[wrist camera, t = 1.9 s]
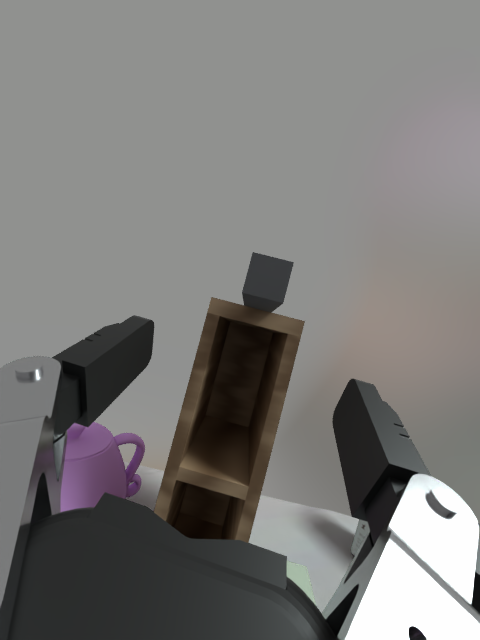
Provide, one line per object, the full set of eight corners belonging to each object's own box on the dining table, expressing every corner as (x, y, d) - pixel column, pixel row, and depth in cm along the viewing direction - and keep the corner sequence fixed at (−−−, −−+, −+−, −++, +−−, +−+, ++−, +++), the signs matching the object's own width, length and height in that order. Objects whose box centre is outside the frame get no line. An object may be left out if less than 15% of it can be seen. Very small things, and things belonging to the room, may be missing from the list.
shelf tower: (228, 533, 37) (282, 325, 38) (215, 670, 22) (304, 321, 23) (171, 515, 37) (225, 310, 38) (119, 639, 22) (211, 297, 24)
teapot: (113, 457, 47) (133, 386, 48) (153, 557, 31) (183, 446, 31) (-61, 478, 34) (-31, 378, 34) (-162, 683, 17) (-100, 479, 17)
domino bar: (261, 320, 39) (266, 303, 39) (283, 303, 15) (294, 260, 15) (245, 315, 39) (250, 299, 39) (242, 292, 15) (253, 250, 15)
